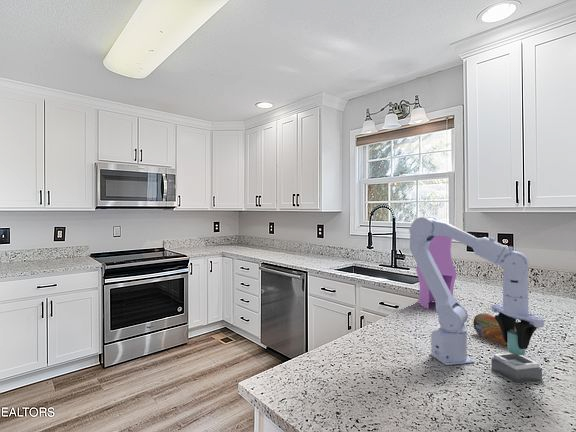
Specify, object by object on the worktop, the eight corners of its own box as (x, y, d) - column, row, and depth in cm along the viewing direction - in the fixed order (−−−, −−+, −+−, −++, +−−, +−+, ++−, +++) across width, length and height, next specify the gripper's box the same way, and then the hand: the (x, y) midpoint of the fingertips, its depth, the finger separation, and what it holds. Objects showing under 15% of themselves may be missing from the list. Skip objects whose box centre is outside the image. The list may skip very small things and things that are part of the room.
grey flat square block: (516, 382, 84) (516, 366, 84) (491, 368, 92) (491, 353, 92) (542, 379, 86) (541, 364, 86) (515, 366, 94) (515, 351, 94)
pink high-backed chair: (444, 301, 164) (444, 232, 163) (456, 309, 150) (455, 233, 150) (416, 301, 165) (416, 232, 165) (425, 308, 151) (424, 233, 151)
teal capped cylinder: (517, 355, 87) (516, 333, 87) (503, 349, 91) (503, 328, 91) (529, 354, 88) (528, 332, 88) (515, 348, 91) (515, 327, 91)
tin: (472, 333, 120) (472, 310, 120) (479, 332, 121) (478, 309, 121) (513, 349, 106) (513, 323, 106) (520, 347, 107) (520, 322, 107)
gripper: (553, 301, 83) (554, 354, 83) (505, 288, 97) (506, 334, 97) (530, 302, 81) (530, 357, 81) (485, 290, 96) (485, 336, 96)
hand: (515, 345), depth 89 cm, fingers closed on teal capped cylinder, 4 cm apart
